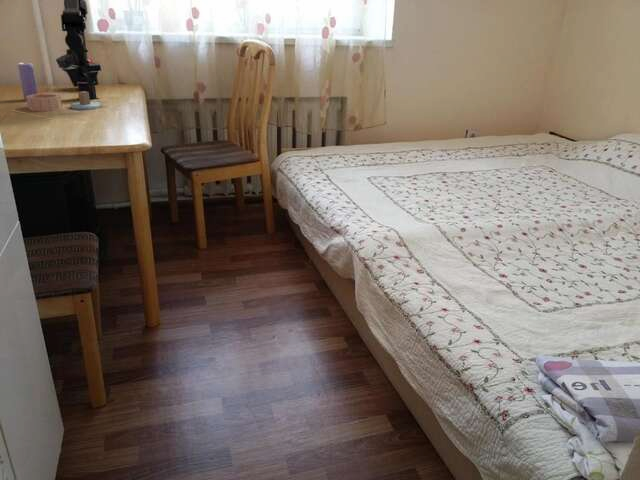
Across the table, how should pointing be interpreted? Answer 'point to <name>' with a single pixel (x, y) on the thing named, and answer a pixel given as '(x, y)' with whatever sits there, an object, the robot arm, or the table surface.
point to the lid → (84, 102)
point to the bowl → (44, 102)
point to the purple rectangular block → (28, 79)
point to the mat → (82, 110)
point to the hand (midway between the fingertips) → (82, 88)
